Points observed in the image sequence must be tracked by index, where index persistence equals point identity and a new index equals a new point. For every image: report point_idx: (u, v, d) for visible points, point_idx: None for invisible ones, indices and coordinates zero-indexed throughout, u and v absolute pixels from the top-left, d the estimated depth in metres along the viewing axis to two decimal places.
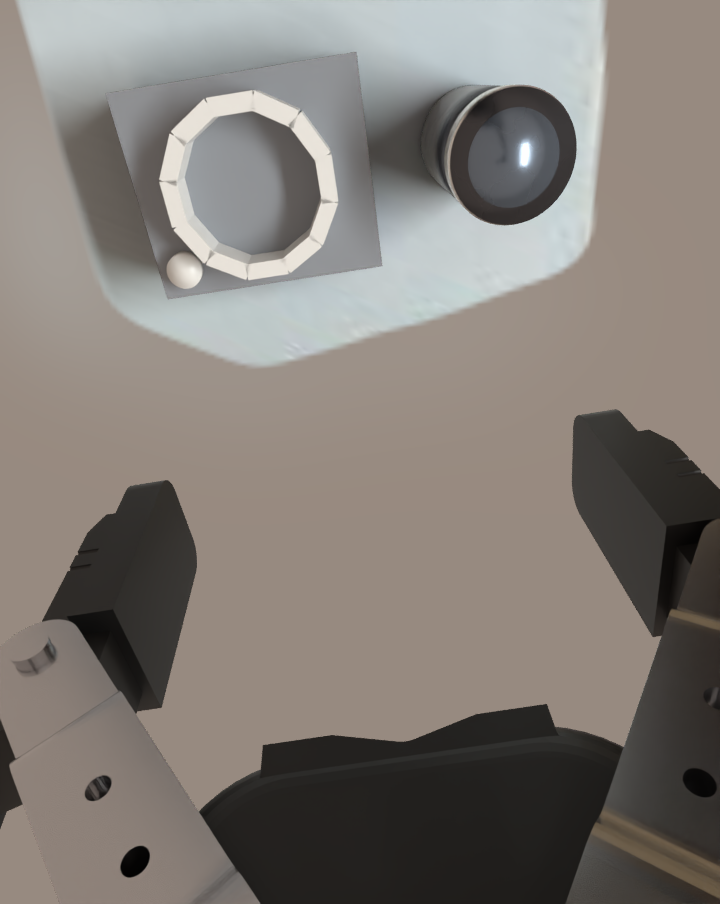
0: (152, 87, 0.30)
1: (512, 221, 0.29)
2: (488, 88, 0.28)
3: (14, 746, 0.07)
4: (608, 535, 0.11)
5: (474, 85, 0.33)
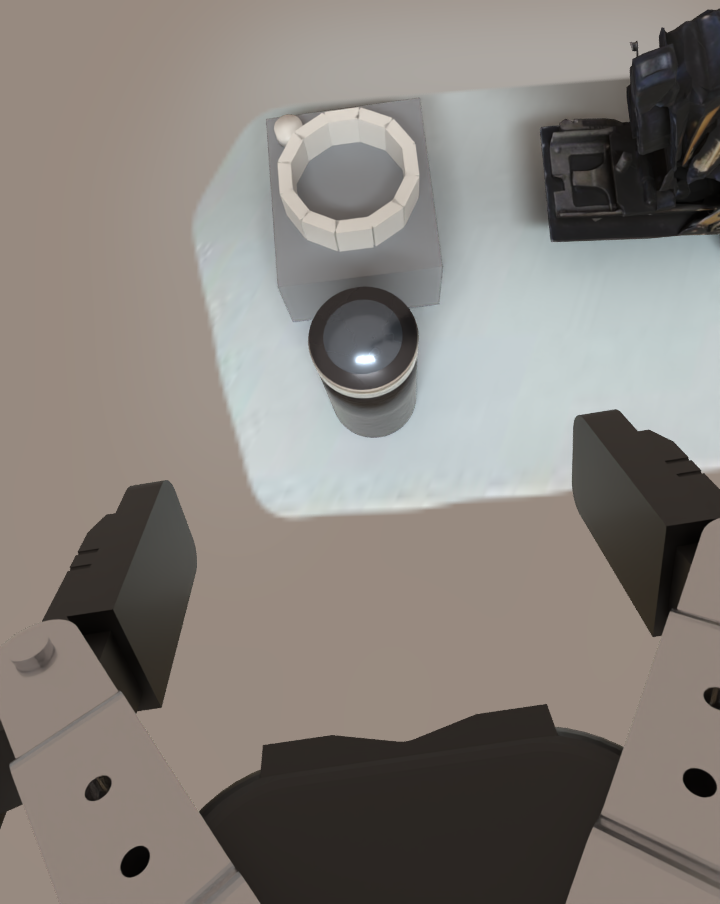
0: (422, 127, 0.40)
1: (311, 341, 0.32)
2: None
3: (15, 746, 0.07)
4: (608, 535, 0.11)
5: None
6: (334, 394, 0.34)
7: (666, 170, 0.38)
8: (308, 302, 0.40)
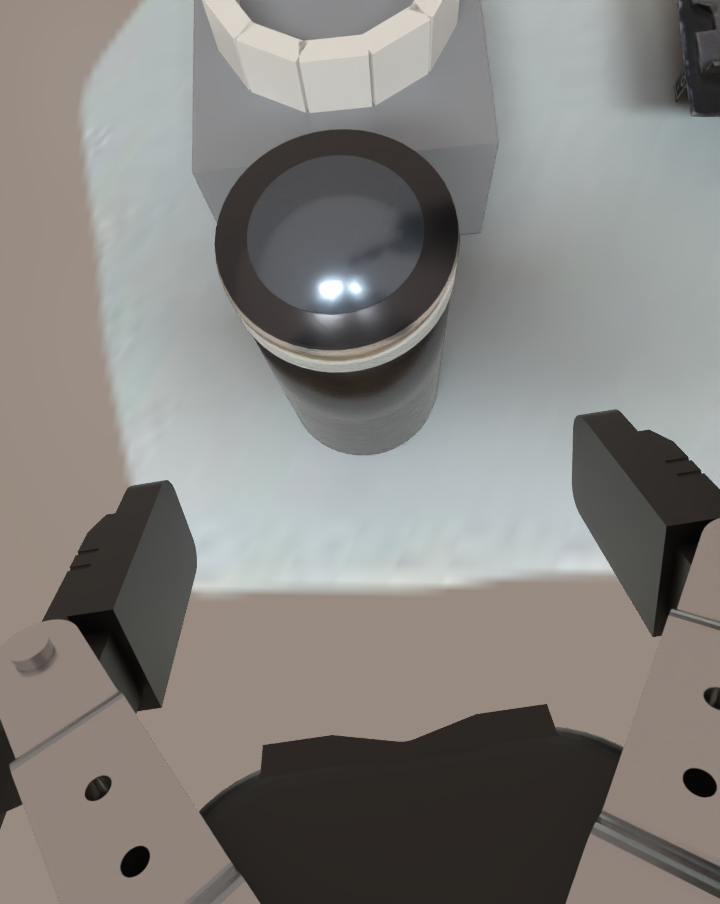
0: None
1: (220, 239, 0.14)
2: None
3: (15, 744, 0.07)
4: (608, 535, 0.11)
5: None
6: (276, 365, 0.16)
7: None
8: None
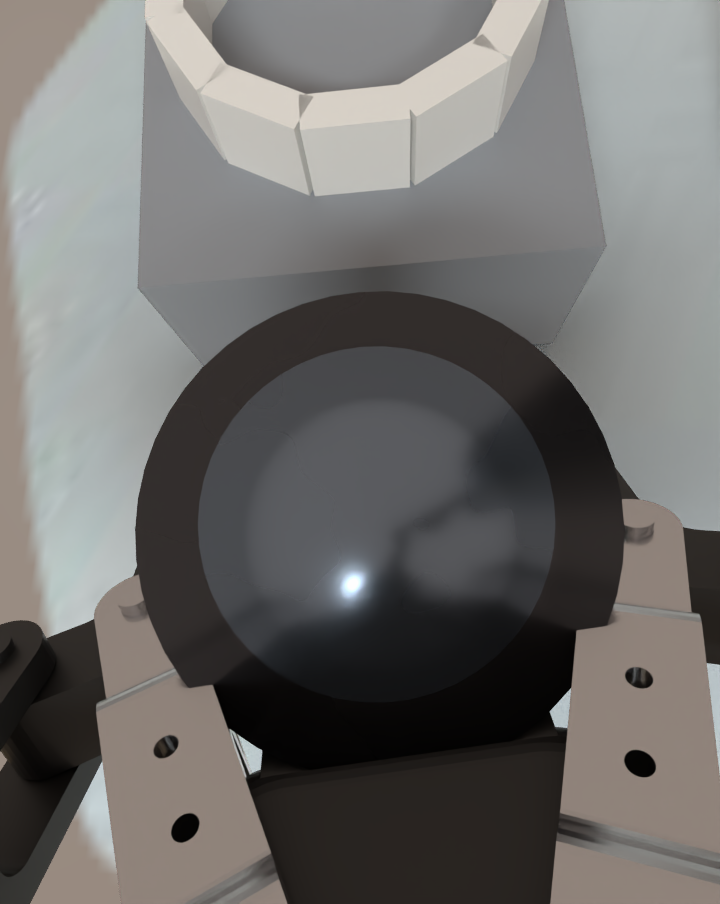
0: None
1: (147, 521, 0.07)
2: None
3: (108, 685, 0.08)
4: None
5: None
6: None
7: None
8: (234, 330, 0.16)
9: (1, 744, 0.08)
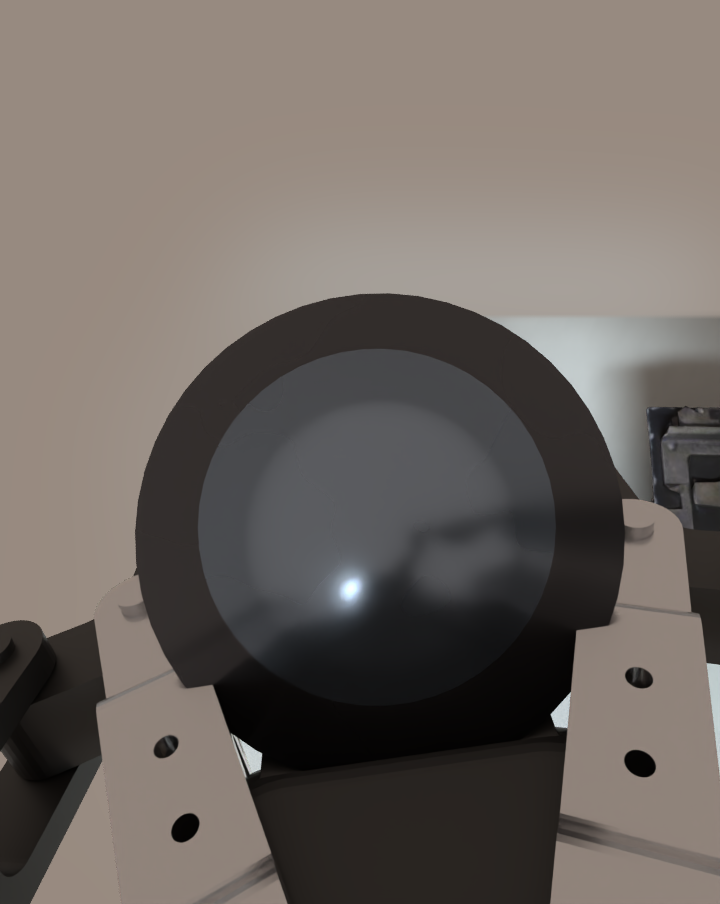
0: None
1: (147, 523, 0.07)
2: None
3: (108, 685, 0.08)
4: None
5: None
6: None
7: None
8: None
9: (1, 744, 0.08)
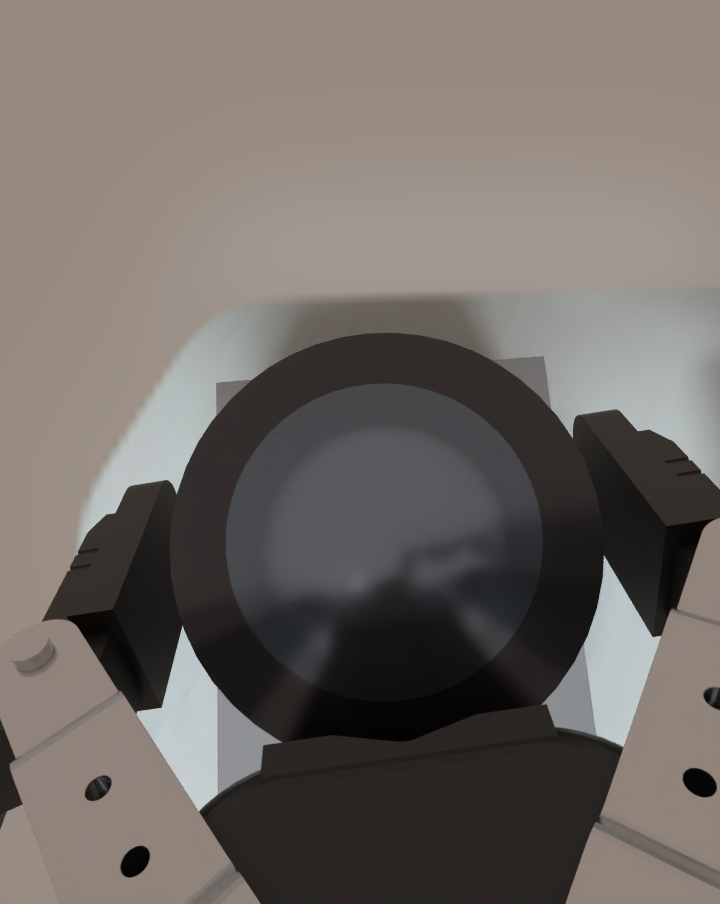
0: None
1: (180, 540, 0.08)
2: None
3: (15, 745, 0.07)
4: (608, 535, 0.11)
5: None
6: None
7: None
8: None
9: None
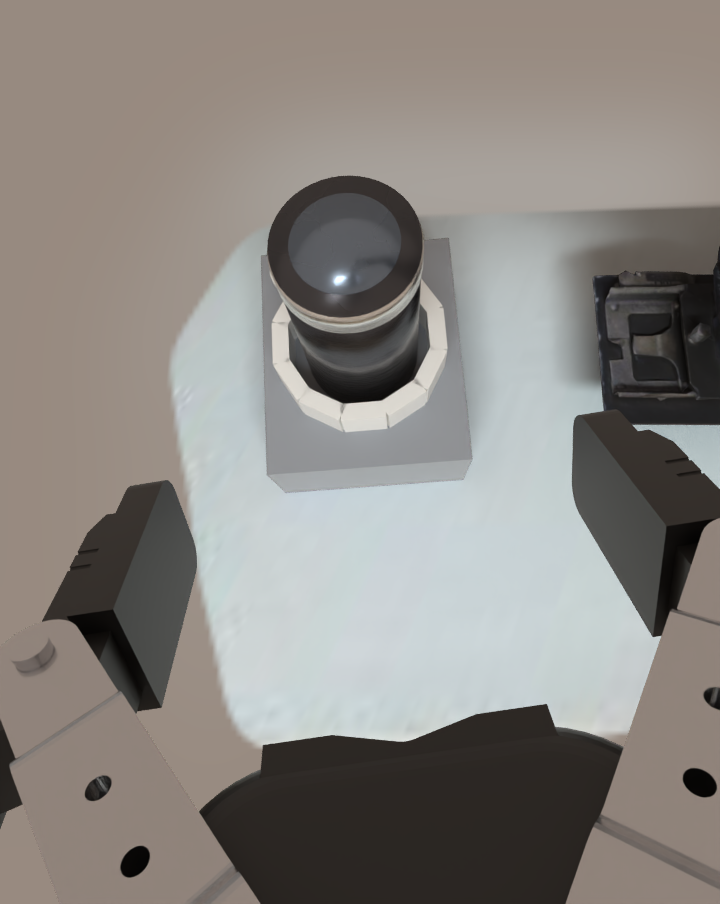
0: (451, 276, 0.33)
1: (271, 248, 0.22)
2: None
3: (15, 745, 0.07)
4: (608, 535, 0.11)
5: None
6: (304, 331, 0.24)
7: None
8: (304, 482, 0.33)
9: None
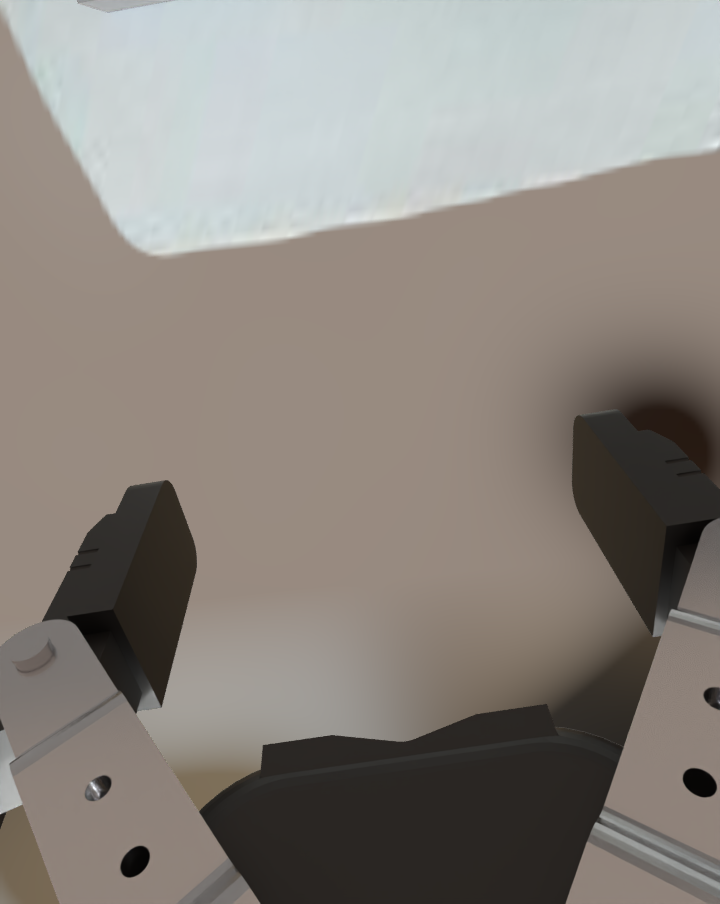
0: None
1: None
2: None
3: (15, 746, 0.07)
4: (608, 535, 0.11)
5: None
6: None
7: None
8: (120, 3, 0.33)
9: None
